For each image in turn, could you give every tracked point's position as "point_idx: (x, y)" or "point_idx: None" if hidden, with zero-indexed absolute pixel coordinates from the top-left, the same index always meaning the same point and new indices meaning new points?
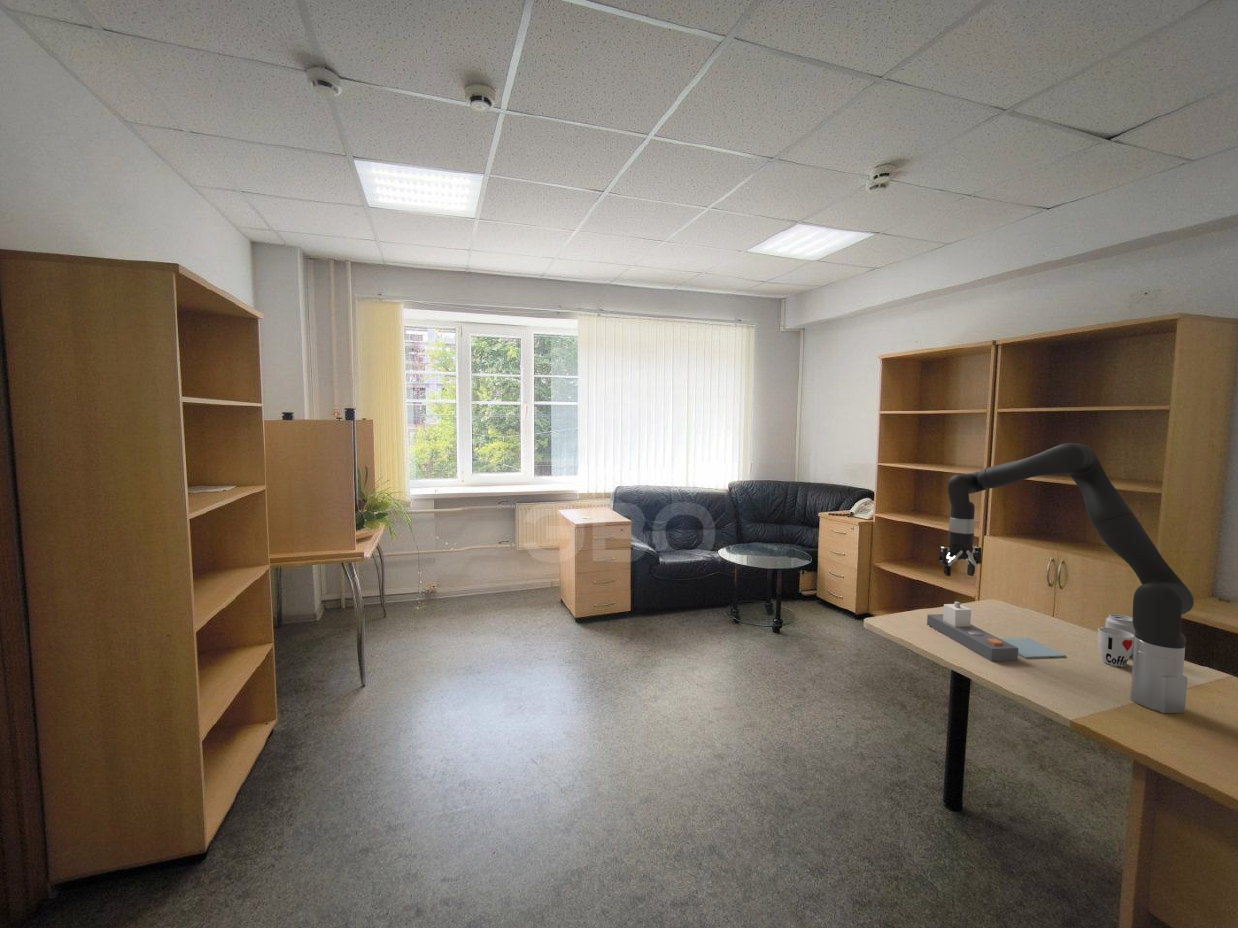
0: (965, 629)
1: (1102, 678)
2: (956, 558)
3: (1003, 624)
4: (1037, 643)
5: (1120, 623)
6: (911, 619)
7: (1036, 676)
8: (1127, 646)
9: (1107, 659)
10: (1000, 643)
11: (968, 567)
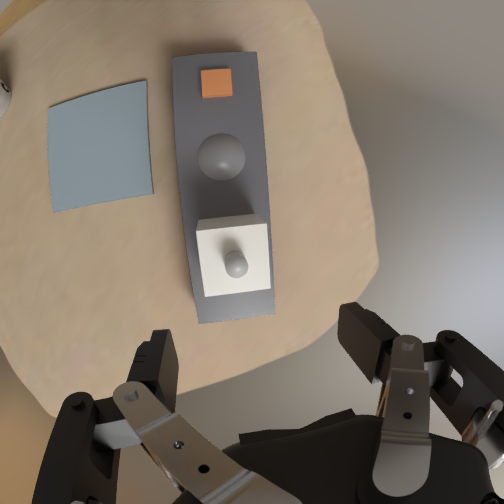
0: (234, 189)
1: (76, 22)
2: (398, 391)
3: (64, 308)
4: (55, 174)
5: None
6: (285, 332)
7: (203, 6)
8: None
9: (7, 90)
10: (209, 71)
11: (172, 395)
